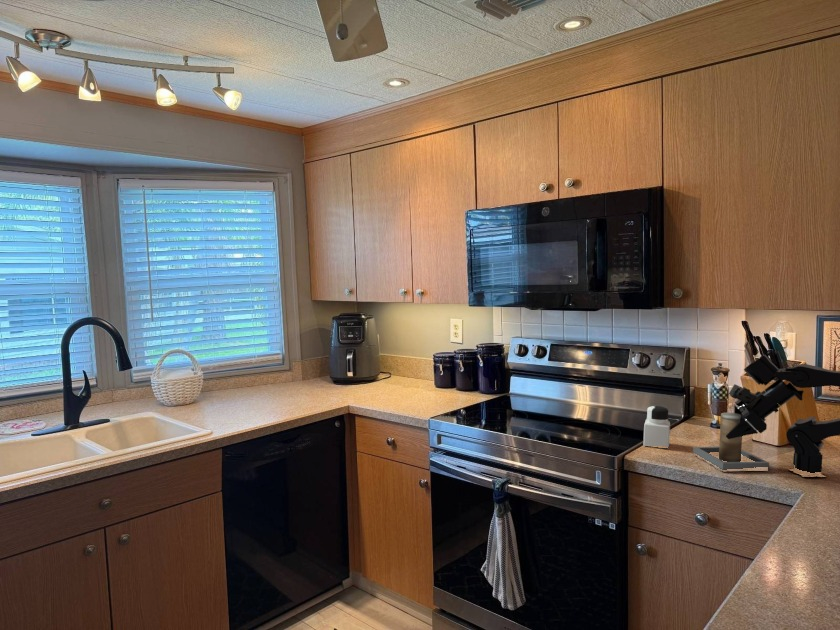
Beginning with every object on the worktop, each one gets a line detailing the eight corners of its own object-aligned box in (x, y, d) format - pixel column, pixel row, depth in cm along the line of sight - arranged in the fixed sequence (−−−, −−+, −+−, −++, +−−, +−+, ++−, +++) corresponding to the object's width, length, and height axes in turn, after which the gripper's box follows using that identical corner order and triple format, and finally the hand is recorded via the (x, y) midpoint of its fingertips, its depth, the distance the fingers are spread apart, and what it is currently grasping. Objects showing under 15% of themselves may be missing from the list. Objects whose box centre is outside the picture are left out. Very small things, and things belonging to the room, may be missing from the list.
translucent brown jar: (745, 463, 165) (747, 417, 164) (726, 463, 165) (728, 417, 164) (733, 457, 171) (735, 412, 170) (714, 457, 170) (717, 412, 169)
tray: (768, 471, 161) (769, 462, 161) (722, 472, 160) (723, 463, 160) (735, 454, 176) (735, 446, 176) (693, 455, 175) (693, 446, 175)
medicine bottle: (669, 443, 186) (670, 406, 186) (668, 449, 180) (670, 410, 179) (645, 440, 189) (646, 403, 189) (643, 446, 183) (644, 408, 182)
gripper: (745, 371, 173) (701, 405, 178) (754, 381, 156) (706, 419, 161) (774, 400, 171) (729, 433, 176) (787, 414, 153) (737, 451, 158)
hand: (725, 433), depth 168 cm, fingers open, 9 cm apart
